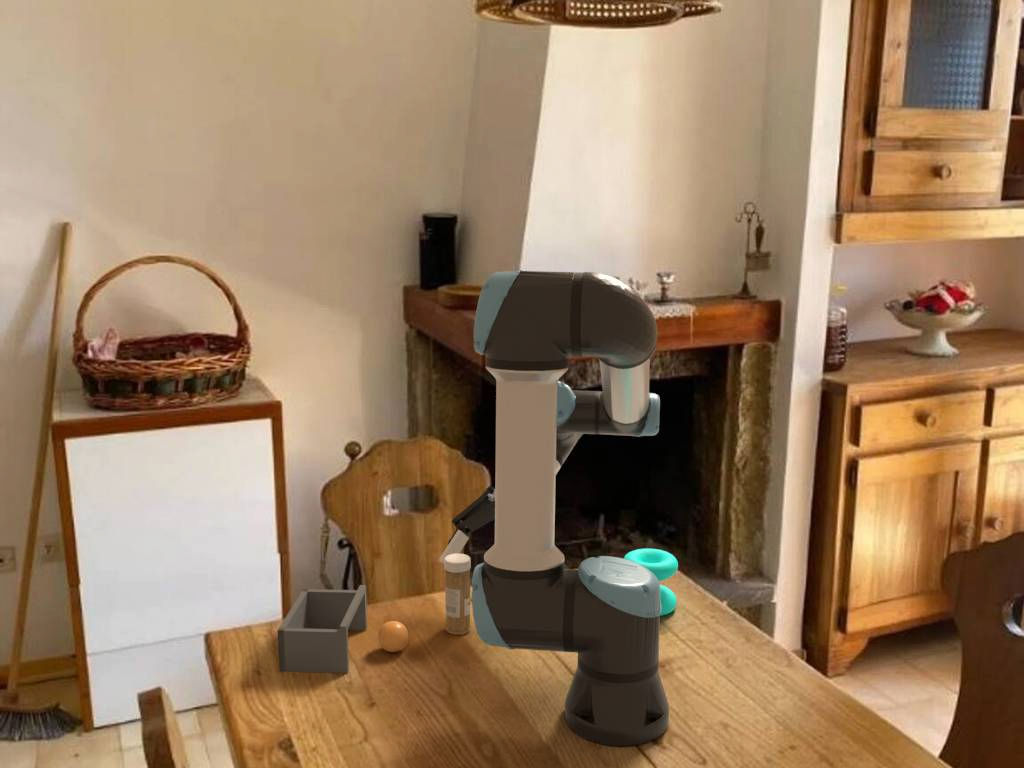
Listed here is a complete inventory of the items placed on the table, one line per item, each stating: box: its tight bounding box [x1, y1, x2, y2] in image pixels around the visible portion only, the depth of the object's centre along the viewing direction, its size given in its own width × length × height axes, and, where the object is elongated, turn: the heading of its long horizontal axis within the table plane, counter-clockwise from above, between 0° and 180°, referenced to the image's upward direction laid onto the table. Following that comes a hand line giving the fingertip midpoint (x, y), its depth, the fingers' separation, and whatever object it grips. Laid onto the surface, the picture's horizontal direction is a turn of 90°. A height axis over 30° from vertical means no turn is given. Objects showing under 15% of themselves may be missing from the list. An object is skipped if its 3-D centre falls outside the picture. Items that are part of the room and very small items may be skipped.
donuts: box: [623, 548, 679, 617], centre depth 179 cm, size 10×10×10 cm
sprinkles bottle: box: [443, 553, 472, 636], centre depth 170 cm, size 5×5×14 cm
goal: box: [276, 584, 368, 674], centre depth 164 cm, size 16×11×8 cm
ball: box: [377, 620, 409, 653], centre depth 163 cm, size 5×5×5 cm
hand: (467, 575), depth 172 cm, fingers open, 13 cm apart
